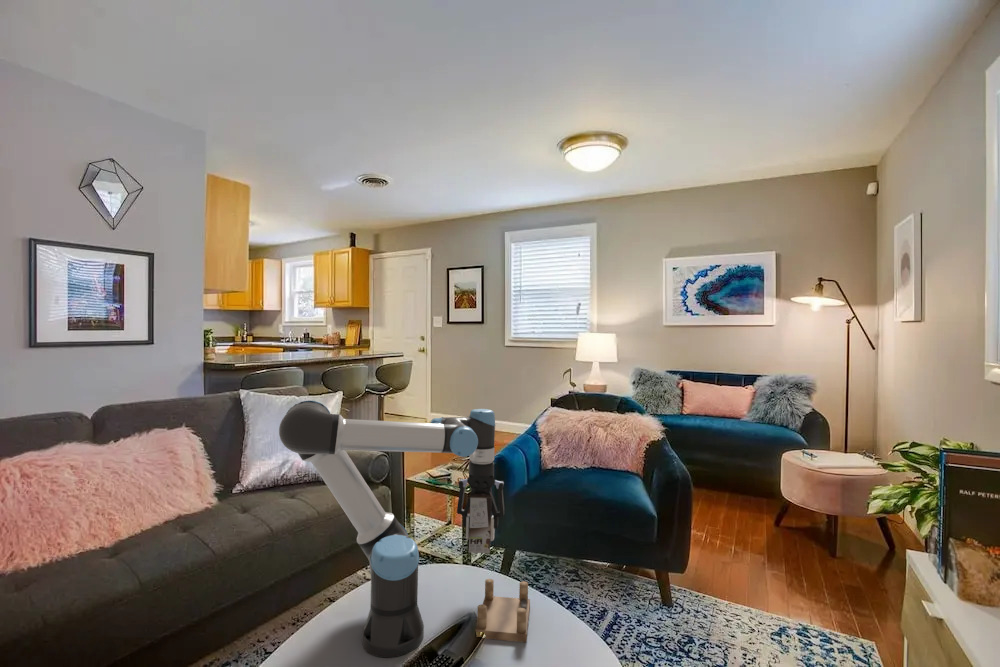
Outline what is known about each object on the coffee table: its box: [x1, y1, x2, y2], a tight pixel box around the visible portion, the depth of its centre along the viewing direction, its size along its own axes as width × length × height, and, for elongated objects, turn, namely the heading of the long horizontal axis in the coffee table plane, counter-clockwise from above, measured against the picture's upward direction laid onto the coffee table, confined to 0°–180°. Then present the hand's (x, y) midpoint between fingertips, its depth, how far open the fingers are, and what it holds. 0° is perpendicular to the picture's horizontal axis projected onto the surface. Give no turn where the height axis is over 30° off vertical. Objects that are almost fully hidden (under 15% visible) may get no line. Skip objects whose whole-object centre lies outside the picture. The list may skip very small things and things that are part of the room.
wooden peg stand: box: [474, 578, 531, 643], centre depth 124 cm, size 13×16×7 cm
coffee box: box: [468, 488, 493, 554], centre depth 138 cm, size 9×6×16 cm
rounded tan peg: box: [518, 581, 529, 605], centre depth 129 cm, size 5×2×5 cm, turn 177°
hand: (480, 538), depth 138 cm, fingers closed on coffee box, 7 cm apart
